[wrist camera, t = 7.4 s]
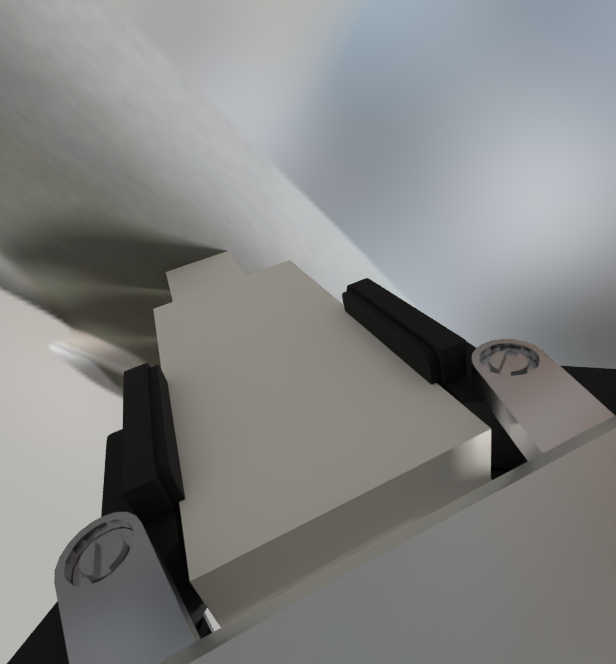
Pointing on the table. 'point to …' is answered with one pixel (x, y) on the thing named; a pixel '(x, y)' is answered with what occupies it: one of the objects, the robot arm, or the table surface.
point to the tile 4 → (299, 436)
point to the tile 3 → (203, 275)
